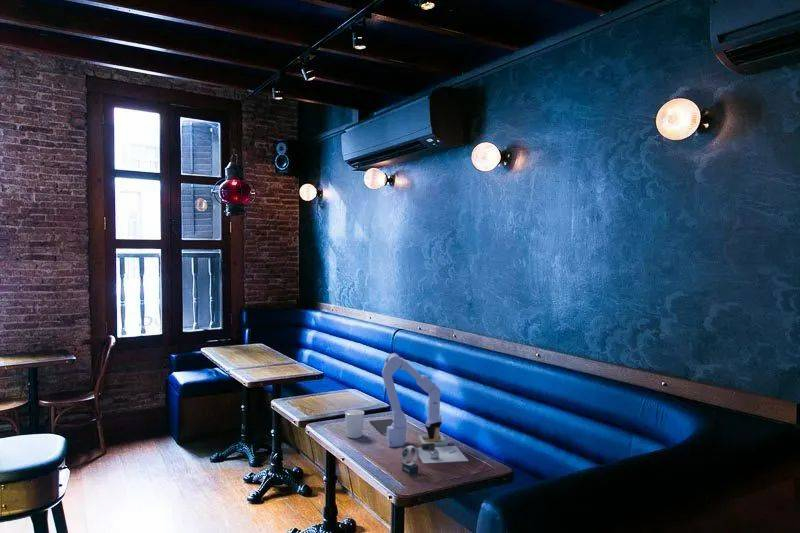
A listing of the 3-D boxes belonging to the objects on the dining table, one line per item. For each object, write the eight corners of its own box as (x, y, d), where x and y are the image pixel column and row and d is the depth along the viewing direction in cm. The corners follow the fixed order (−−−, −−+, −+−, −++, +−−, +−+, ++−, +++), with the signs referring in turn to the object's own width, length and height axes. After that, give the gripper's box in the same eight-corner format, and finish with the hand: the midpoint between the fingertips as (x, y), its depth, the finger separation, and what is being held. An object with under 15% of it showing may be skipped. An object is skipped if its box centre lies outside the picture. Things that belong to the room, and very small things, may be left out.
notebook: (369, 423, 299) (382, 436, 280) (369, 420, 299) (382, 433, 279) (391, 421, 304) (405, 433, 284) (391, 418, 304) (405, 430, 284)
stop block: (435, 442, 266) (435, 429, 266) (428, 440, 268) (428, 428, 268) (438, 439, 270) (439, 427, 269) (431, 438, 272) (431, 426, 271)
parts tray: (424, 448, 262) (424, 443, 262) (418, 440, 273) (418, 435, 273) (447, 447, 264) (447, 442, 264) (440, 439, 276) (441, 434, 276)
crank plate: (423, 465, 241) (423, 463, 241) (413, 449, 260) (413, 447, 260) (468, 462, 245) (468, 460, 245) (455, 447, 264) (455, 445, 264)
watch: (398, 471, 234) (399, 446, 233) (413, 467, 238) (414, 442, 238) (406, 476, 229) (406, 450, 229) (421, 472, 234) (421, 446, 234)
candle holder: (348, 439, 271) (349, 416, 271) (341, 433, 280) (342, 410, 280) (366, 437, 276) (367, 413, 276) (359, 431, 285) (359, 408, 284)
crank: (442, 458, 246) (442, 452, 246) (429, 459, 245) (429, 452, 245) (433, 447, 260) (433, 441, 260) (421, 447, 259) (421, 441, 259)
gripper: (435, 415, 260) (434, 443, 261) (447, 407, 273) (446, 434, 273) (421, 412, 264) (421, 440, 264) (434, 405, 276) (433, 432, 277)
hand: (433, 437), depth 269 cm, fingers closed on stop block, 4 cm apart
